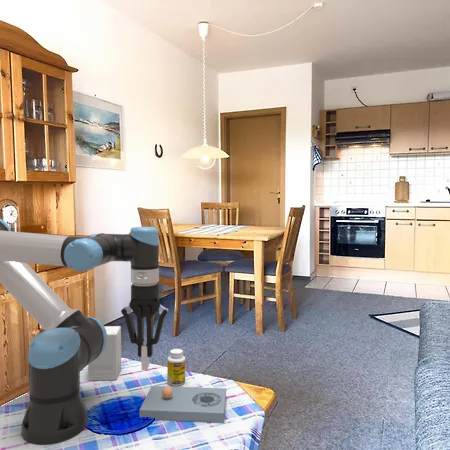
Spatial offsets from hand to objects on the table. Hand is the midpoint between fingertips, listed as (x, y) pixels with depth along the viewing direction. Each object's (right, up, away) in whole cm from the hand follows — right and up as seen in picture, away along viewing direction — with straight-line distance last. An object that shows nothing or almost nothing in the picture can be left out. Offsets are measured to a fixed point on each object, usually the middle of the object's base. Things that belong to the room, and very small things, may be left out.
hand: (145, 367), depth 112 cm
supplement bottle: (+7, -10, +15) cm, 20 cm away
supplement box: (-17, -10, +20) cm, 28 cm away
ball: (+6, -7, 0) cm, 9 cm away
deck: (+11, -11, 0) cm, 16 cm away
